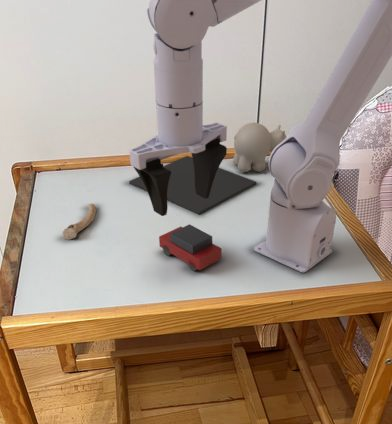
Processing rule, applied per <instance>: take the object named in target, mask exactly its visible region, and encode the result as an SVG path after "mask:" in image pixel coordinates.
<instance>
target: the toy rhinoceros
mask: <svg viewBox="0 0 392 424" xmlns="http://www.w3.org/2000/svg"><path fill="white" fill-rule="evenodd" d="M286 137H287V135H286V131H285V130H281V124H279V125H278V126H277V127H276V129H275V130H273V131H271V132H270V131H269V130H268V128H267V127H266V126H265V125H263V124H262V123H259V122H248V123H245V124H244V125H242V126H241V127H240V128H239V129H238V131H237V132H236V134H235V135H234V137H233V140H234V142H233V145H234V151H235V153H234V154H233V158H232V163H233V164H234V165H235V166H237V170H238V172H242V173H247V172H250V171H251V169H252V170H253V171H254V172H258V173H259V172H263V171H265V169H266V167H267V165H266V164H267V163H266V157H267V156H268V155H269V153H270V152H271V153H272V151H273V150H274V148H275V147H276V146H277V145H278V144H280V143H281V142H282V141H283V140H284V139H285V138H286Z"/></svg>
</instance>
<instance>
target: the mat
mask: <svg viewBox="0 0 392 424" xmlns="http://www.w3.org/2000/svg"><path fill="white" fill-rule="evenodd" d="M163 167H164V168H166V169H168V170H169V171H171V175H170V179H169V183H168V190H167V202H169V203H172V204H174V205H176V206H179V207H181V208H183V209H186V210H188V211H190V212H193V213H195V214H197V215H202V214H203V213H205V212H207V211H209V210H210V209H213V208H214V207H216V206H218V205H220V204H222V203H224V202H226V201H228V200H230V199H231V198H233V197H235V196H237V195H239V194H241V193H243V192H244V191H247V190H248V189H250V188H252V187H254V186H256V185H257V181H255V180H253V179H251V178H248V177H244V176H242V175H240V174H237V173H234V172H232V171H229V170H226V169H223V168H220V167H219V168H218V170H217V172H216V175H215V178H214V181H213V184H212V187H211V191H210V195H209V198H206V199H205V198H203V197H201V196H199V195H197V194H196V190H195V172H194V163H193V158H192V156H189V155H186V156H184V157H181V158H179V159H177V160H174V161H172V162H170V163H167V164H165V165H163ZM128 183H129V184H130V185H132V186H134V187H136V188H138V189H140V190H143V191H145V192H147V189H146V187H145V185H144V183H143V181H142V179H141V178H140V176H138V177H135V178H134V179H131V180H129V181H128Z"/></svg>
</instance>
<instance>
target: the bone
mask: <svg viewBox="0 0 392 424" xmlns="http://www.w3.org/2000/svg"><path fill="white" fill-rule="evenodd" d="M87 206H88V211H87V213H86V215H85V216H84V217H83V218H82V219H81V220H80V221H78V222H76V223H74V224H69V225H68V226H67V227H66V228H64V230H62V236H63V239H65V240H73V239H75V238H76V237H77V236H78V233H79V232H81V231H83V230H84V229H85V228H87V227H88V226H90V225H91V224H92V222H93V221H94V220H95V218H96V213H97V209H96V204H94V203H89V204H88V205H87Z"/></svg>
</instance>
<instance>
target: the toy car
mask: <svg viewBox="0 0 392 424" xmlns="http://www.w3.org/2000/svg"><path fill="white" fill-rule="evenodd" d="M158 241H159V242H158V243H159V247H160V248H161V249H162V251H163V253H164V254H165V255H166V256H168V257H169V256H171V255H173V256H175V257H176V258H177V259H180V260H181V261H183V262H185V263H186V264H188V267H189V269H190V270H191V271H192V272H196V271H197V270H198V271H201V270H203V269H205V268H206V267H208V266H210V265H212V264H214V263H216V262H218V261H220V260H221V259H222V247H220V246H218V245H216V244H214V243H213V236H212V235H210V233H207V232H205V231H203V230H201V229H199V228H198V227H196V226H194V225H192V224H190V223H189V224H186V225H185V226H179V227H176V228H175V229H172V230H170V231H168V232H166V233H164V234H162V235H159V236H158Z"/></svg>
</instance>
